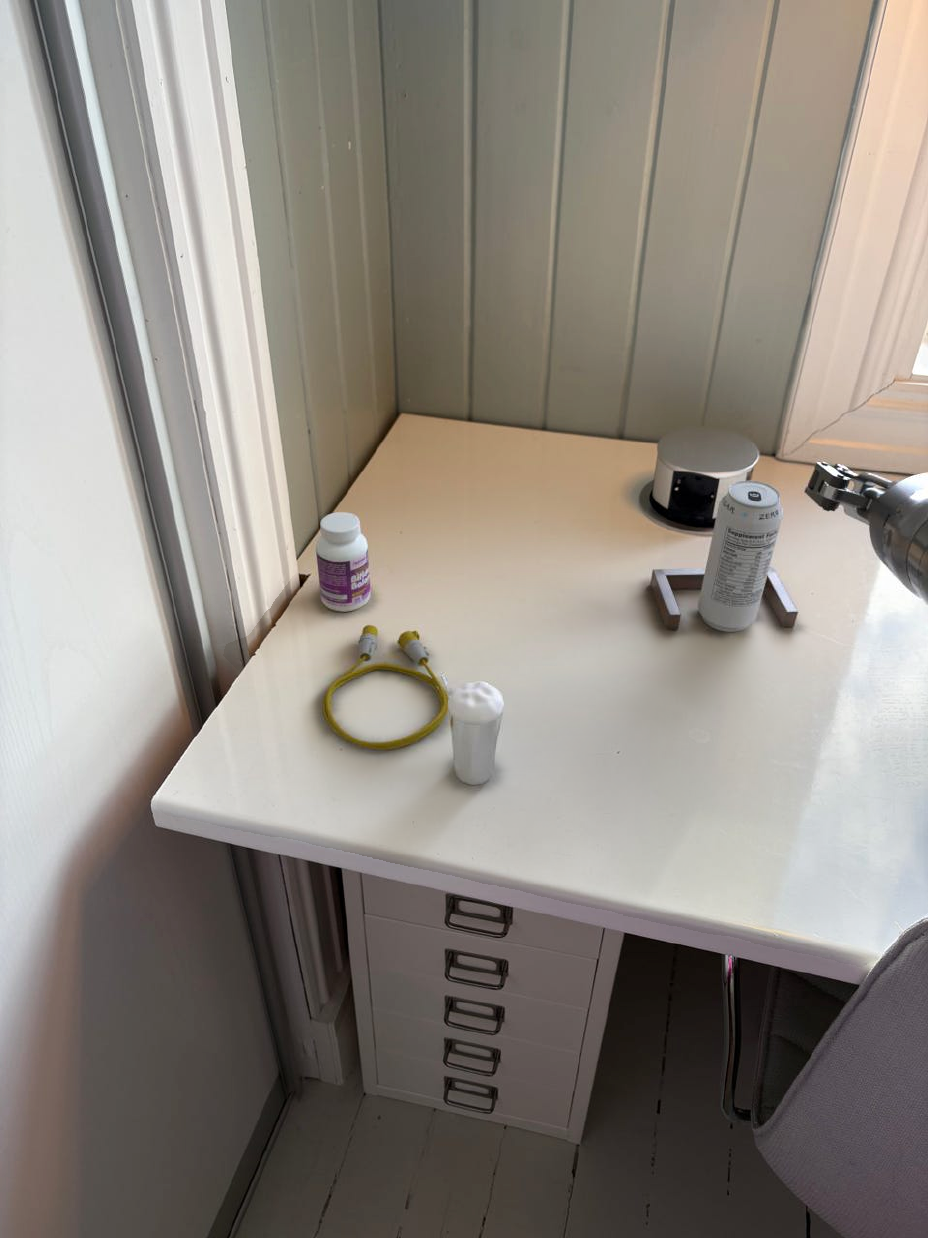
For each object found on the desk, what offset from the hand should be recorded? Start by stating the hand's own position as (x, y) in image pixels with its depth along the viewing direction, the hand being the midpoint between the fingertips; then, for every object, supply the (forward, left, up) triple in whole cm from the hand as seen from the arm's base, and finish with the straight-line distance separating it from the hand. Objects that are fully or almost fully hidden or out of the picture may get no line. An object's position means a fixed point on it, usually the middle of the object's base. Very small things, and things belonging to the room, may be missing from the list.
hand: (884, 492), depth 76 cm
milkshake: (+35, -6, -22) cm, 42 cm away
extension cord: (+37, -18, -22) cm, 47 cm away
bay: (0, -15, -21) cm, 26 cm away
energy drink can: (+1, -13, -22) cm, 25 cm away
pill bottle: (+35, -34, -22) cm, 53 cm away
